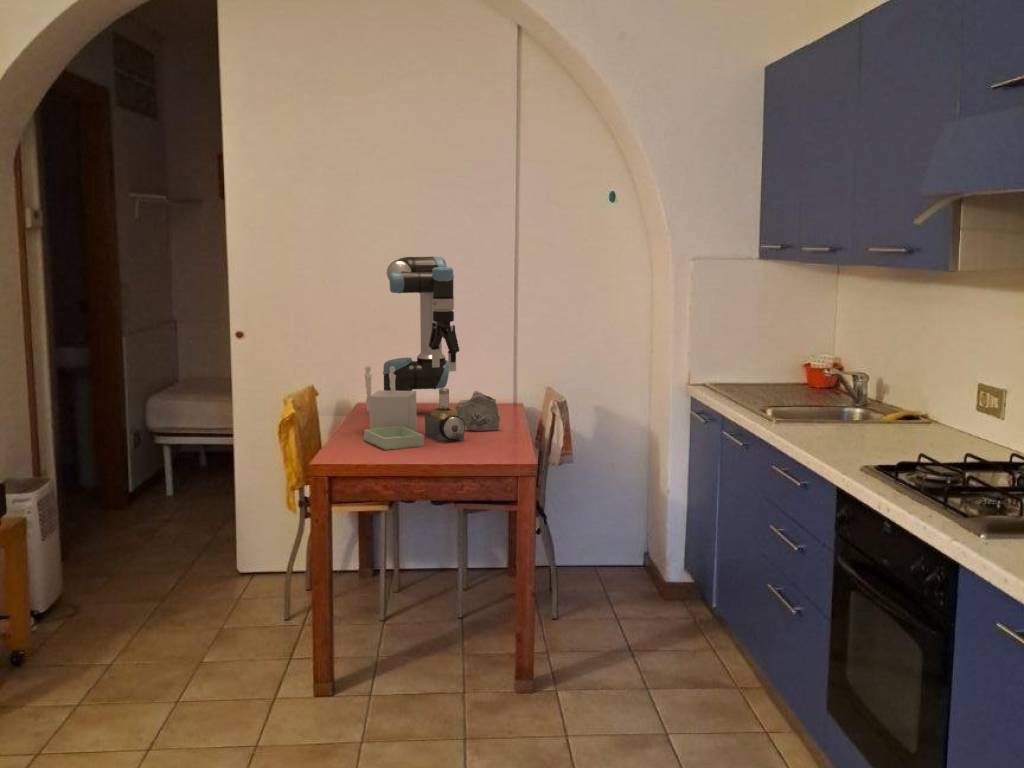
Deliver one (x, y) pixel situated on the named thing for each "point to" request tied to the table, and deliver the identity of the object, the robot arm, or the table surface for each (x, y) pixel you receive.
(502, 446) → the table surface
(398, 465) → the table surface
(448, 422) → the block
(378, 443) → the tray
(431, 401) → the table surface
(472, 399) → the fossil
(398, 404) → the grey box
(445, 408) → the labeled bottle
